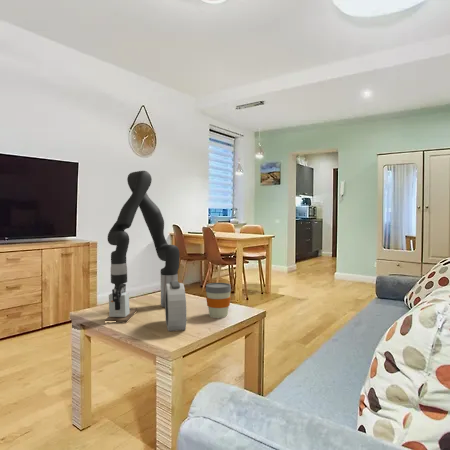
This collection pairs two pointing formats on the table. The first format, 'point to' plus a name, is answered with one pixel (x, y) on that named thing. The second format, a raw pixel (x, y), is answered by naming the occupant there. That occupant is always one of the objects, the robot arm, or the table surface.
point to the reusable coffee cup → (218, 299)
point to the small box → (123, 306)
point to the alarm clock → (175, 306)
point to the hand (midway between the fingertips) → (119, 307)
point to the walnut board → (122, 319)
